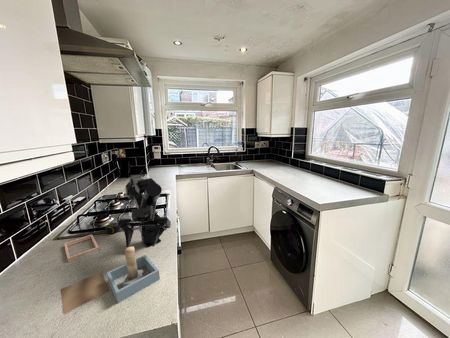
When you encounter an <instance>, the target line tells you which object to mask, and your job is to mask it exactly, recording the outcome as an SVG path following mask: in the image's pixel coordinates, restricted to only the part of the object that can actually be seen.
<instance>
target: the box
mask: <svg viewBox="0 0 450 338" xmlns="http://www.w3.org/2000/svg"><path fill="white" fill-rule="evenodd" d="M136 263H137V270H139V268H141V267H144V266H145V267H146V268H147V270H149V272H150V273H148V274H146V275H145V276H144V275H143V276H142V277H141V278H140V279H138V280H137V281H135V282H133V283H131V284H129V285H127V286H125V287H121V288H120V289H119V288H118V285H117V283H116V282H115V280H117V279H120V278H122V277H123V276H126V275H128V269H127V263H125V264H122V265H119V266H118V267H115V268H113V269H111V270H109V271H107V272H106V276H107V282H108V284H109V286H110V289H111V291H112V293H113V295H114V298H115V300H116V301H117V304H119V303H121V302H122V301H125V300H126V299H128V298H131V297H132V296H134V295H135V294H137V293H139V292H140V291H142V290H143V289H146V288H147V287H149V286H150V285H152V284H155V283H157V282H158V281H160V280H161V279H160V270H159V269H158V267H157V266H156V265H155V264H154V263H153V262H152V260H151V259H149V258H148V256H147V255H146V254H144V255H142V256H140V257H138V258H136Z"/></svg>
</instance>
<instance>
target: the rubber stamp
mask: <svg viewBox="0 0 450 338" xmlns="http://www.w3.org/2000/svg"><path fill="white" fill-rule="evenodd" d="M124 254H125V261H126V262H125V264H127V269H128V274H127V277H126V278H125V279H124V281H123V284H122V286H123V287H125V286H127V285H129V284H131V283H133V282H135V281H137V280H138V279H140V278H142V277H144V273H145V272H144V269H137V263H136V259H137V257H136V250H135V246H129V247H128V248H127V247H126V248H125V249H124ZM123 287H122V288H123Z"/></svg>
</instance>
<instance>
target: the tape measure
mask: <svg viewBox="0 0 450 338" xmlns="http://www.w3.org/2000/svg"><path fill="white" fill-rule="evenodd" d="M117 223H118V222H109V224H106V226H105V227H104V230H105V233H106V234H115V233H118V232H119V231H120V230H121V229H120V227H118V226H117ZM119 229H120V230H119Z"/></svg>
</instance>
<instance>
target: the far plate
mask: <svg viewBox="0 0 450 338" xmlns="http://www.w3.org/2000/svg"><path fill="white" fill-rule="evenodd" d="M108 292H110V288H109V286H108V284H107V281H106V279H105V277H104V274H103V272H102V271H99V272H97V273H94V274H92V275H90V276H88V277H85V278H83V279H81V280H78V281H76V282H75V283H72V284H69V285H67V286H65V287H62V288H60V294H61V304H62V311H63V315H65V314H68V313H70V312H72V311H74V310H75V309H77V308H79V307H82V306H83V305H85V304H87V303H90V302H91V301H93V300H95V299H97V298H98V297H100V296H103V295H105V294H107V293H108Z"/></svg>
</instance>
